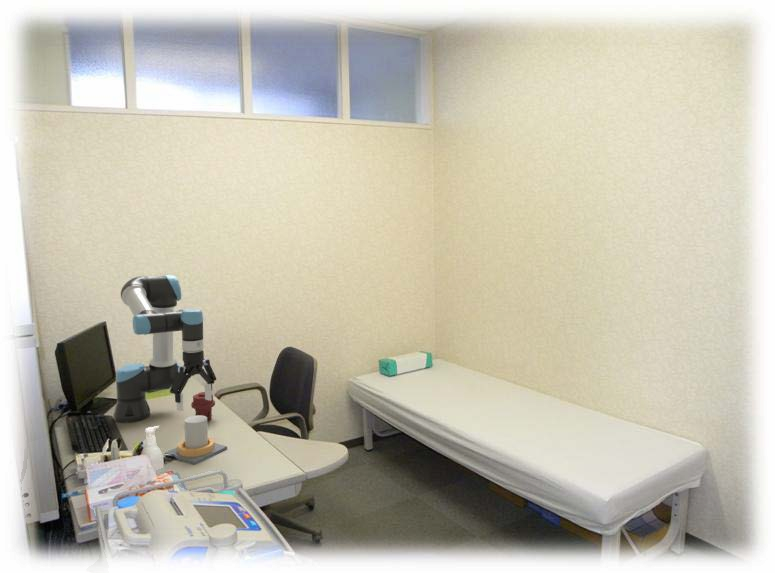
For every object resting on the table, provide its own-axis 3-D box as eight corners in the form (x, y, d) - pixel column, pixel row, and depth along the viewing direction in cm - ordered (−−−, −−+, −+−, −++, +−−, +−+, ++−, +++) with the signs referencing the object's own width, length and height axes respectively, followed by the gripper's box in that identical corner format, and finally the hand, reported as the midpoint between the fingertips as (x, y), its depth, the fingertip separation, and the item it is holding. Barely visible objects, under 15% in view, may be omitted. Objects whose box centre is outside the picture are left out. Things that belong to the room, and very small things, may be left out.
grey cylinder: (200, 443, 214) (199, 413, 213) (212, 448, 209) (211, 418, 208) (181, 449, 208) (180, 419, 207) (193, 455, 203) (191, 424, 202)
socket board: (164, 455, 205) (164, 446, 205) (197, 440, 219) (197, 432, 219) (194, 464, 198) (194, 455, 197) (227, 448, 212) (226, 440, 211)
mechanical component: (219, 417, 246) (208, 424, 237) (199, 415, 248) (187, 423, 239) (218, 390, 245) (207, 397, 235) (198, 389, 247) (186, 395, 237)
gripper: (172, 359, 191) (174, 417, 194) (225, 345, 213) (226, 397, 216) (158, 356, 195) (160, 413, 198) (211, 342, 217) (212, 394, 219)
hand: (194, 405), depth 207 cm, fingers open, 13 cm apart
